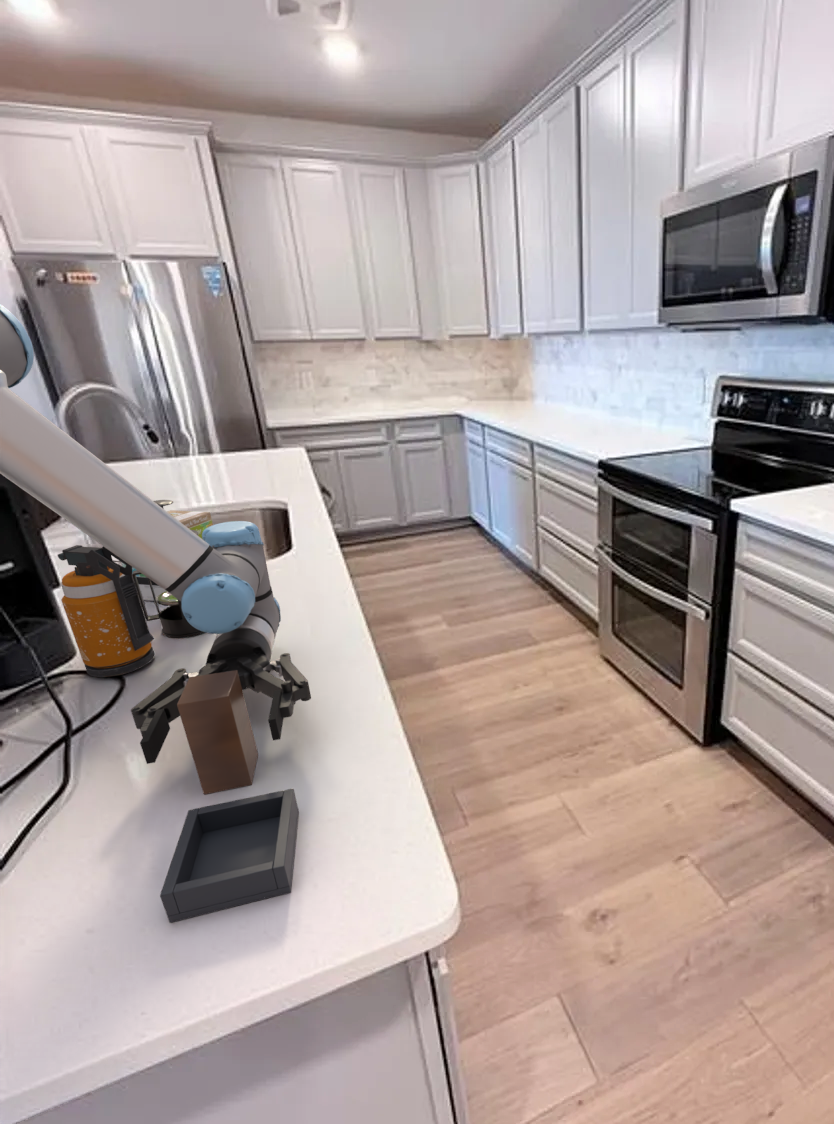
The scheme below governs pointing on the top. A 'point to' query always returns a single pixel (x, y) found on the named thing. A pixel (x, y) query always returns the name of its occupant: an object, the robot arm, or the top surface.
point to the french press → (173, 615)
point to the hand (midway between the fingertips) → (212, 741)
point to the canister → (105, 612)
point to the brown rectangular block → (218, 731)
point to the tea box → (191, 521)
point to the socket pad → (232, 855)
